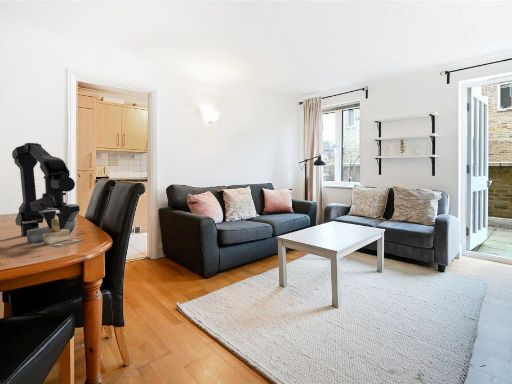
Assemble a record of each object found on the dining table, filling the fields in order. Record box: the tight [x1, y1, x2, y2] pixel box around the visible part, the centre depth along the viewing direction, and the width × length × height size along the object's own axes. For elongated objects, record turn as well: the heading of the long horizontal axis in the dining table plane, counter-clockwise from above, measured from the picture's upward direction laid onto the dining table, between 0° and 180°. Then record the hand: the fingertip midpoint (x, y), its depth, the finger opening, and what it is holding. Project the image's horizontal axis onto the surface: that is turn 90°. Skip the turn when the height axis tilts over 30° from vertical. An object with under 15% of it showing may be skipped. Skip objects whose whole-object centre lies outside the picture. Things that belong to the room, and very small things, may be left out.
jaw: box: [43, 218, 71, 244], centre depth 114 cm, size 3×9×9 cm, turn 165°
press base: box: [23, 225, 87, 249], centre depth 114 cm, size 19×12×6 cm, turn 75°
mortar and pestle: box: [64, 211, 80, 234], centre depth 130 cm, size 11×9×12 cm
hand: (56, 229), depth 113 cm, fingers open, 5 cm apart
